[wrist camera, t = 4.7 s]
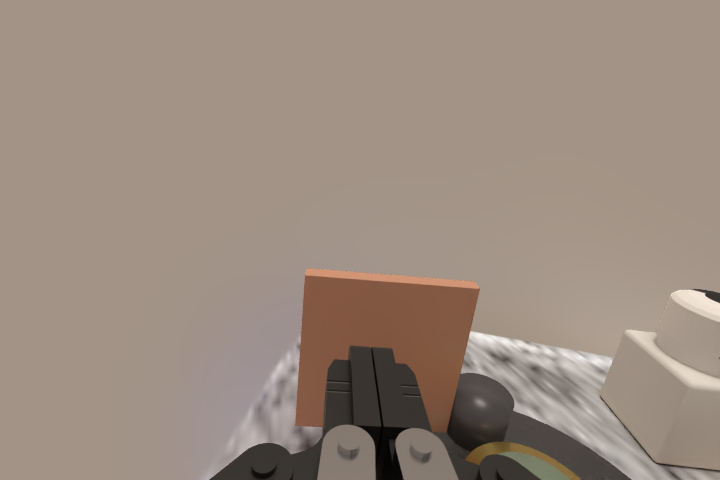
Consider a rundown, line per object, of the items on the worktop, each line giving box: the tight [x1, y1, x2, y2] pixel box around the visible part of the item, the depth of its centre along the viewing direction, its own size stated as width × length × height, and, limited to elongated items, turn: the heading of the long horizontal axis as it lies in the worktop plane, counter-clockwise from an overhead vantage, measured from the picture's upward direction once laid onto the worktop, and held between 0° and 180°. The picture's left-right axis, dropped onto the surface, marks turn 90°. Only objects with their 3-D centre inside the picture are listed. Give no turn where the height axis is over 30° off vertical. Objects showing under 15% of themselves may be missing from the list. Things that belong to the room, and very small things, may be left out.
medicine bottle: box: [600, 289, 720, 470], centre depth 28 cm, size 7×7×12 cm
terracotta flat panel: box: [295, 268, 514, 452], centre depth 23 cm, size 14×4×11 cm, turn 93°
